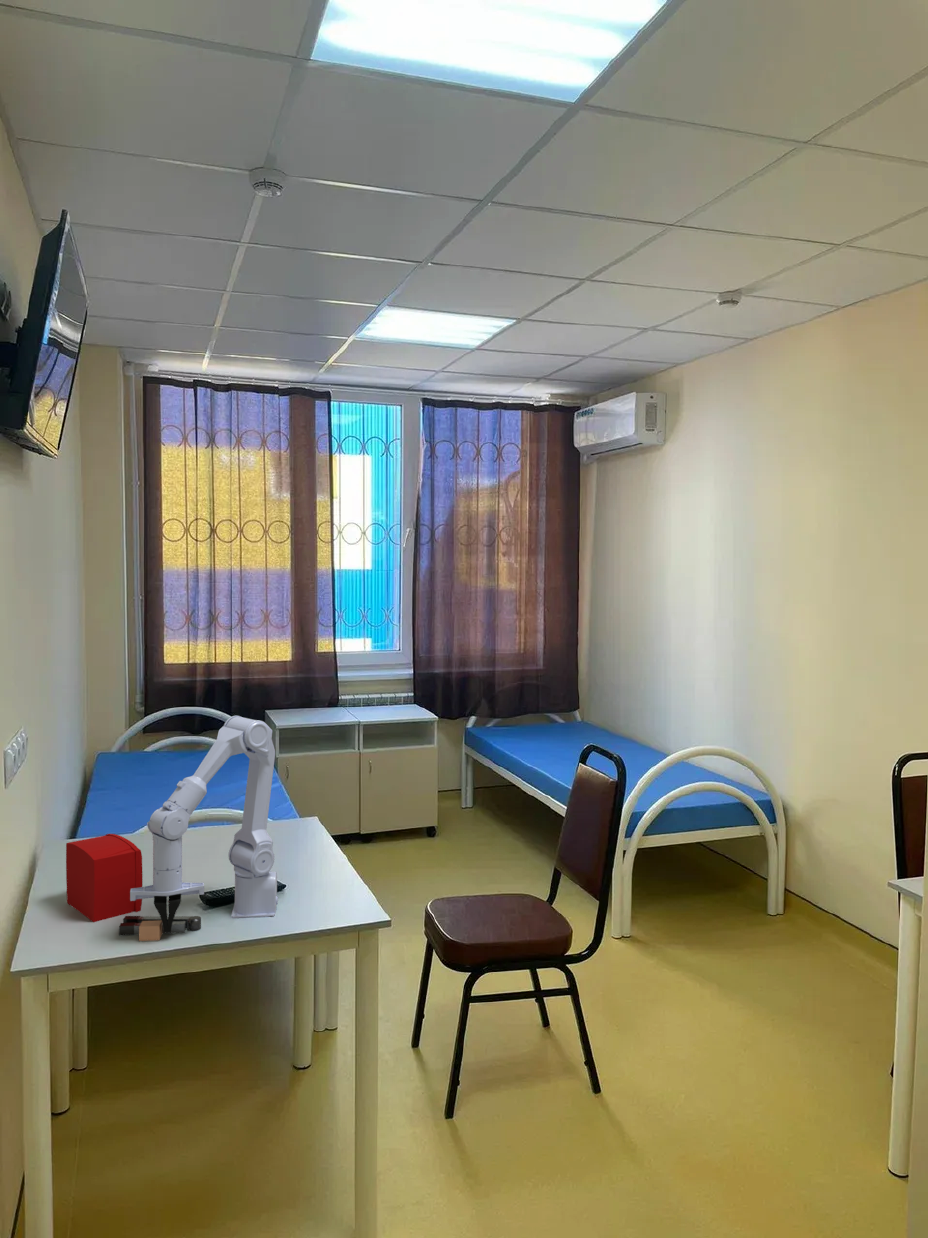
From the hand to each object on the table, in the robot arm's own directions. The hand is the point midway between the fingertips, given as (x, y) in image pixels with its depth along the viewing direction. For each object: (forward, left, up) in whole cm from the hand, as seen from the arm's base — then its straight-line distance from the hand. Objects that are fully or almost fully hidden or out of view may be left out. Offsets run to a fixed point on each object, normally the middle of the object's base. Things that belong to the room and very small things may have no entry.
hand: (167, 930), depth 185 cm
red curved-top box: (+17, -19, -2) cm, 26 cm away
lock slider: (+3, 0, -1) cm, 4 cm away
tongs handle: (+4, -3, -2) cm, 5 cm away
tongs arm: (+2, -5, -1) cm, 5 cm away
